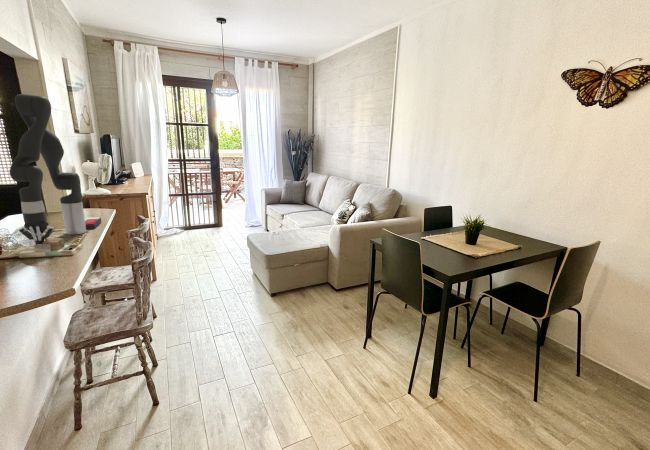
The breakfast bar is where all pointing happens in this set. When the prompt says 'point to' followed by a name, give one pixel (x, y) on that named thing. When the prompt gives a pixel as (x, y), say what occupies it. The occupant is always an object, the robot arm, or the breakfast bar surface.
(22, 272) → the breakfast bar surface
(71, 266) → the breakfast bar surface
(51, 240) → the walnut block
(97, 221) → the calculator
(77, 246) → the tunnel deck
